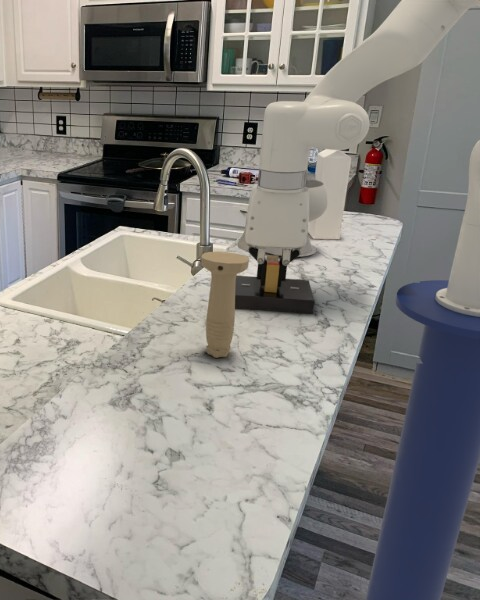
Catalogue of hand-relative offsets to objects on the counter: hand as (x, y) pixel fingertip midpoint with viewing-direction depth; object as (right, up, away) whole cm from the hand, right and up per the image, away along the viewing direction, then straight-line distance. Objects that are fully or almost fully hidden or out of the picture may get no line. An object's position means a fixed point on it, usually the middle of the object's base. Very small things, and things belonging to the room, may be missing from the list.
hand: (270, 283), depth 108 cm
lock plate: (0, -3, +1) cm, 3 cm away
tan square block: (0, -1, 0) cm, 1 cm away
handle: (-13, -11, -17) cm, 25 cm away
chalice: (+12, +8, +28) cm, 32 cm away
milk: (+24, +12, +38) cm, 46 cm away
